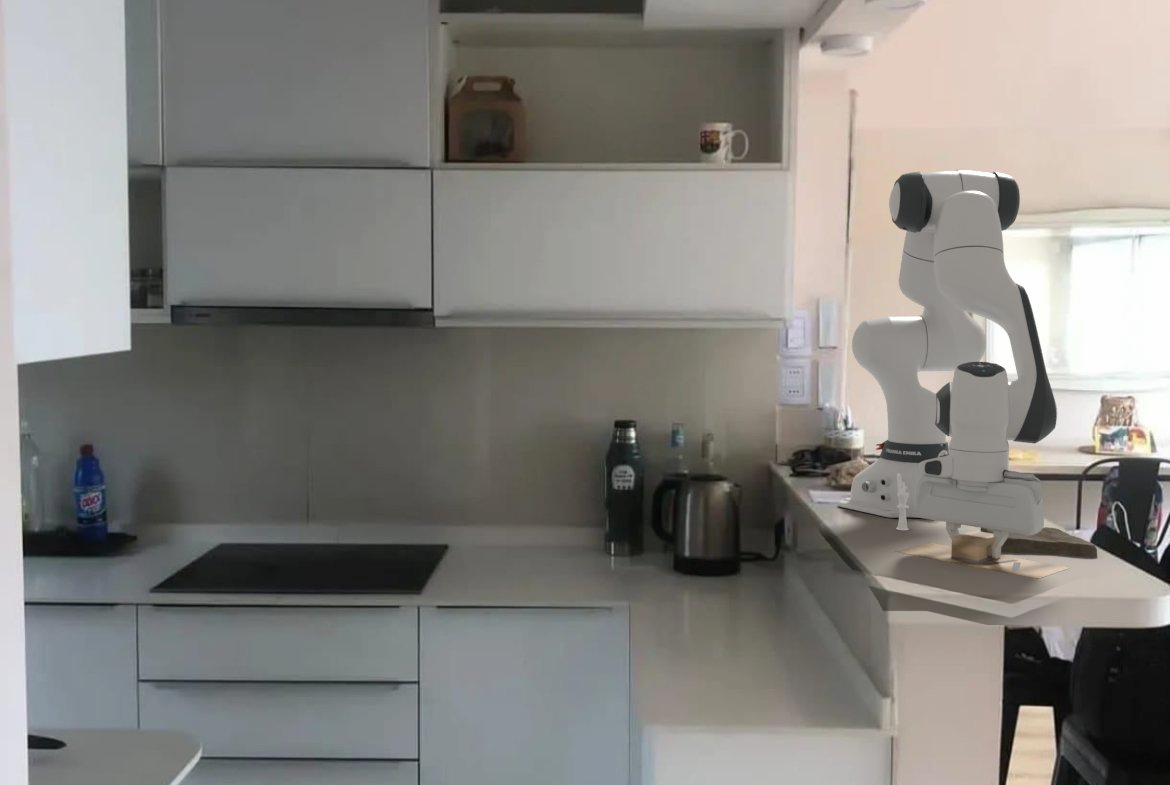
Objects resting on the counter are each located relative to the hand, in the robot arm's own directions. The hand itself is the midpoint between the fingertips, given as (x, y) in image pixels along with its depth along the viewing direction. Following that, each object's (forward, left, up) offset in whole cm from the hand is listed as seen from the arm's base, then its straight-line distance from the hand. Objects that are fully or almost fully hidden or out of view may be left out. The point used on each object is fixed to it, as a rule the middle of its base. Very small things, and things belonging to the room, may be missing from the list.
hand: (976, 554), depth 172 cm
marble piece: (+2, +15, -3) cm, 16 cm away
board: (+1, 0, -2) cm, 2 cm away
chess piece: (-20, +11, -2) cm, 23 cm away
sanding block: (0, 0, -1) cm, 1 cm away
